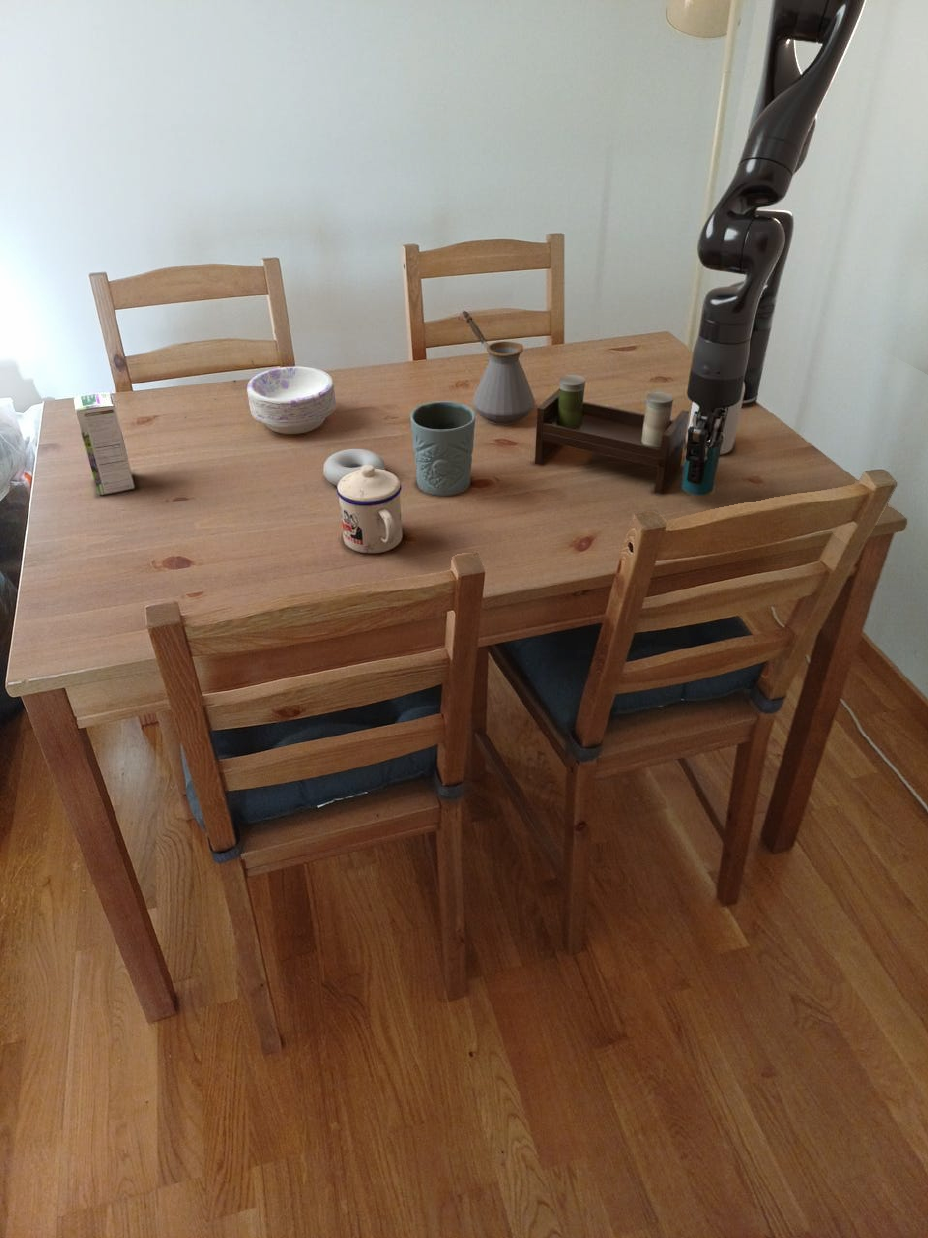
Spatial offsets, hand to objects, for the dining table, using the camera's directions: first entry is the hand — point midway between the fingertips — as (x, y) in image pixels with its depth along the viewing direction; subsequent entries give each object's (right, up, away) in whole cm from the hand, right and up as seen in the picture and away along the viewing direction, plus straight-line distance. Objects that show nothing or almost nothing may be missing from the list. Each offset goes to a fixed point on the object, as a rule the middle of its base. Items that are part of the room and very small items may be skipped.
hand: (699, 473), depth 134 cm
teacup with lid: (-49, -11, -6) cm, 50 cm away
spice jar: (0, -2, +1) cm, 2 cm away
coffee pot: (-31, +18, +32) cm, 48 cm away
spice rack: (-12, +3, +12) cm, 18 cm away
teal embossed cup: (-39, -1, +8) cm, 40 cm away
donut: (-54, +1, +10) cm, 55 cm away
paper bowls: (-67, +13, +26) cm, 73 cm away
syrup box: (-92, -1, +8) cm, 93 cm away
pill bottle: (+6, +8, +18) cm, 21 cm away
